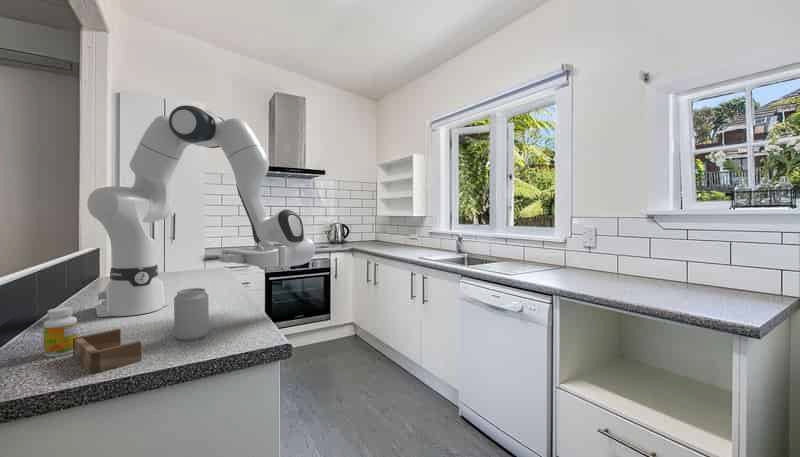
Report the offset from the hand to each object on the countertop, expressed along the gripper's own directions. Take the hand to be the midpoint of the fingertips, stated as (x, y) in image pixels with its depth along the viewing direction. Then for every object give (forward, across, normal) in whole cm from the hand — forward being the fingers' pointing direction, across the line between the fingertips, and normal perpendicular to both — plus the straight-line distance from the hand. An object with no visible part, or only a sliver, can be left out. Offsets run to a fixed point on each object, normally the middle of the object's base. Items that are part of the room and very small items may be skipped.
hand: (221, 259), depth 94 cm
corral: (+25, 0, +19) cm, 31 cm away
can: (+8, 0, +19) cm, 21 cm away
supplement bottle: (+30, -12, +19) cm, 37 cm away
